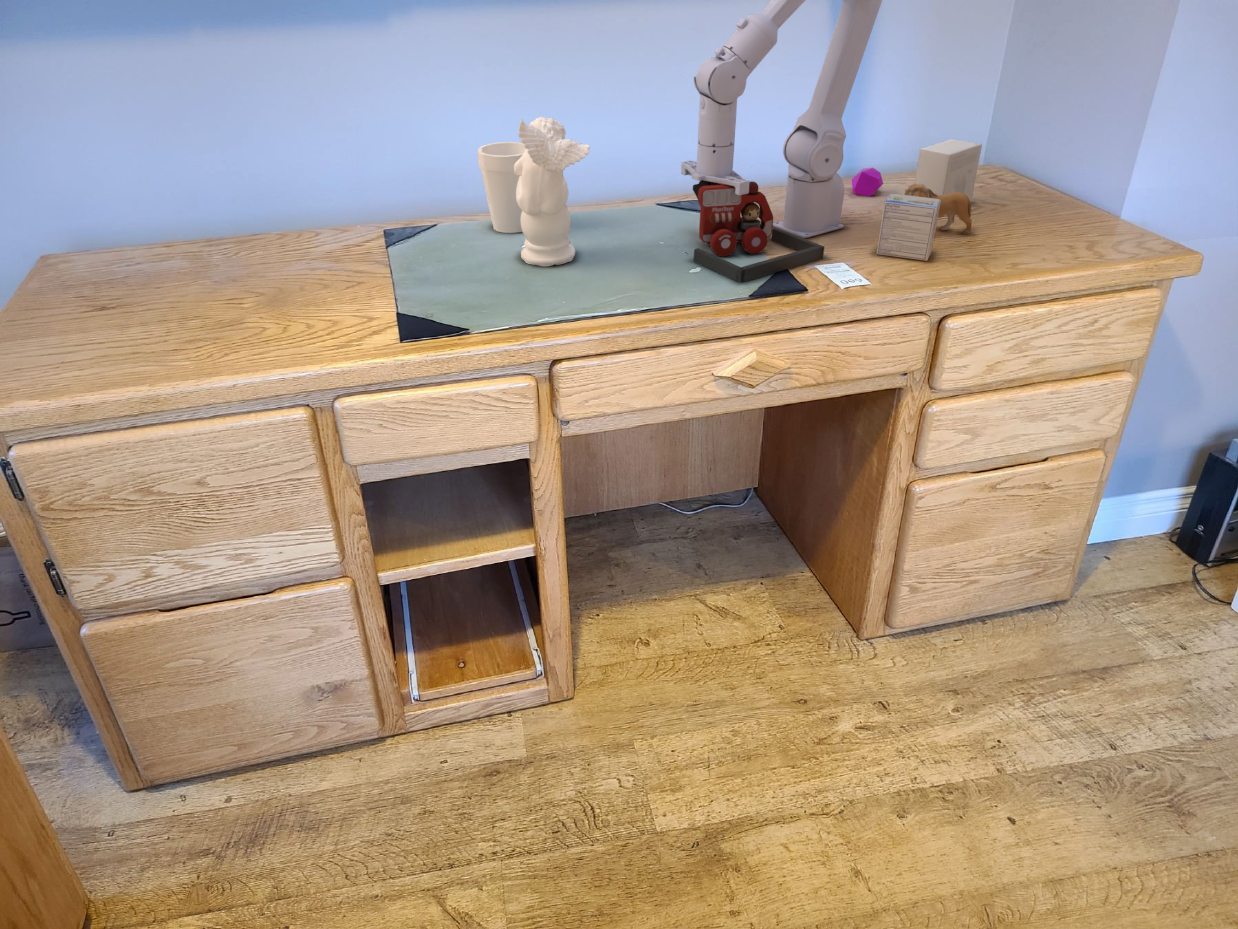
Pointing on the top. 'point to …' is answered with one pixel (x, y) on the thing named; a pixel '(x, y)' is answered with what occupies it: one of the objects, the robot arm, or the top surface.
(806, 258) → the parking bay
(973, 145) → the cosmetics box
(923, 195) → the lion figurine
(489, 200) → the white flower pot
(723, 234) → the toy fire truck
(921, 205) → the medicine box
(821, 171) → the robot arm
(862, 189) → the crystal
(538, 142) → the cherub figurine
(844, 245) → the top surface
